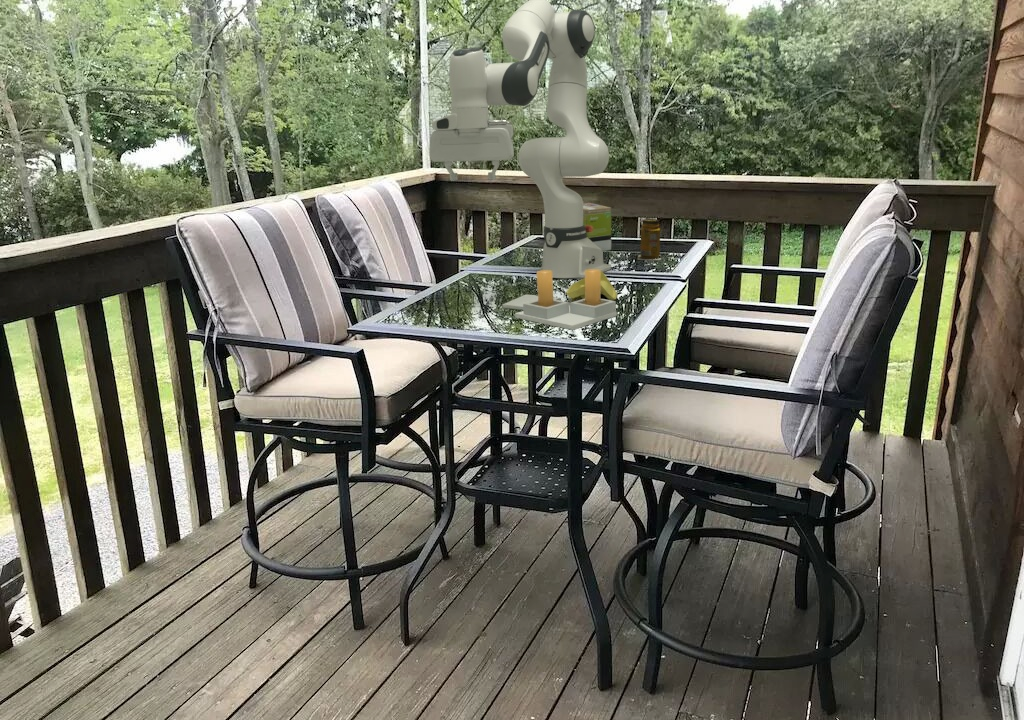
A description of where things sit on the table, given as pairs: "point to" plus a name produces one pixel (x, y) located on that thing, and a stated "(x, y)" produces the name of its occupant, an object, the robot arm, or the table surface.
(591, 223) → the tea box
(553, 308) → the housing
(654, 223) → the condiment
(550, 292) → the pin
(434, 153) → the robot arm
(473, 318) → the table surface
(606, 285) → the plastic component
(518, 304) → the lid
